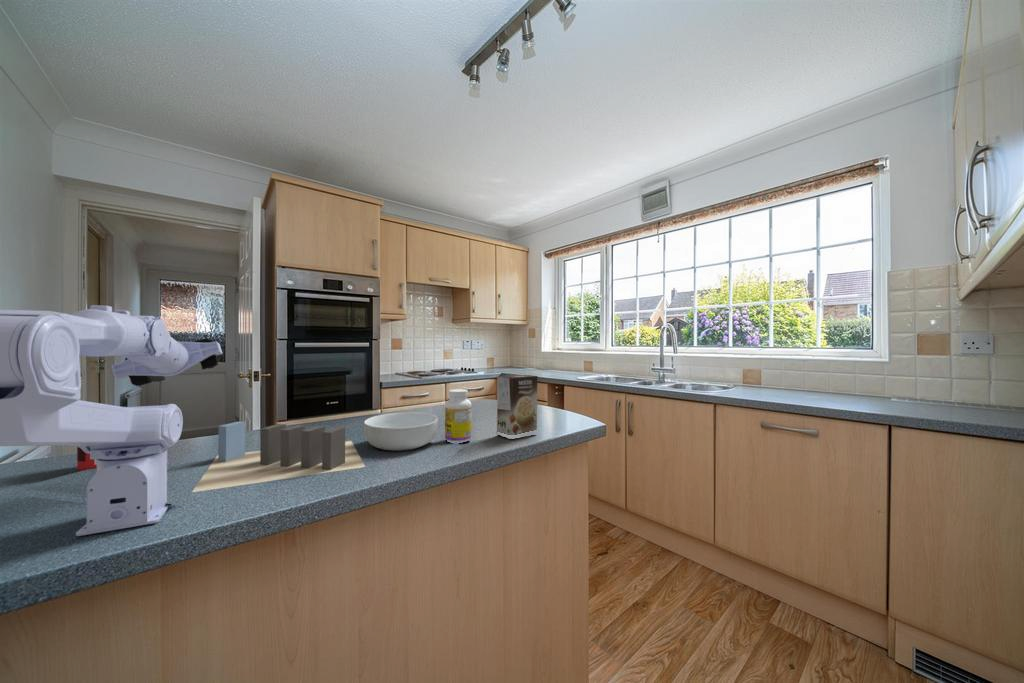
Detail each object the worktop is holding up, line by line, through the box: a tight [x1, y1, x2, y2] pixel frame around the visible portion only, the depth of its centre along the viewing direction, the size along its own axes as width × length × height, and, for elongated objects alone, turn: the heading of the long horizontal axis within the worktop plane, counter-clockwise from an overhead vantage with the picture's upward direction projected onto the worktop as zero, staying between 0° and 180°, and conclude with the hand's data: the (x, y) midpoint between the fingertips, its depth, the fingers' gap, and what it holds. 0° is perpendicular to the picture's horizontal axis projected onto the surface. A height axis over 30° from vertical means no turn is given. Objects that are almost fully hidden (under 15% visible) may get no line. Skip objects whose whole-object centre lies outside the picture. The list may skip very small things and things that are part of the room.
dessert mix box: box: [496, 374, 538, 435], centre depth 103 cm, size 9×6×16 cm
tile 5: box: [322, 426, 346, 470], centre depth 74 cm, size 2×4×7 cm, turn 169°
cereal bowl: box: [363, 411, 439, 452], centre depth 90 cm, size 17×17×7 cm
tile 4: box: [301, 425, 326, 468], centre depth 75 cm, size 2×4×7 cm, turn 169°
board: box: [191, 440, 366, 494], centre depth 77 cm, size 22×26×1 cm
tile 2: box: [259, 423, 287, 465], centre depth 76 cm, size 2×4×7 cm, turn 169°
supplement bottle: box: [444, 388, 472, 441], centre depth 97 cm, size 7×7×13 cm
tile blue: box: [217, 421, 246, 462], centre depth 78 cm, size 2×4×7 cm, turn 169°
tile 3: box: [280, 424, 306, 467], centre depth 76 cm, size 2×4×7 cm, turn 169°
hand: (186, 369), depth 74 cm, fingers open, 7 cm apart
